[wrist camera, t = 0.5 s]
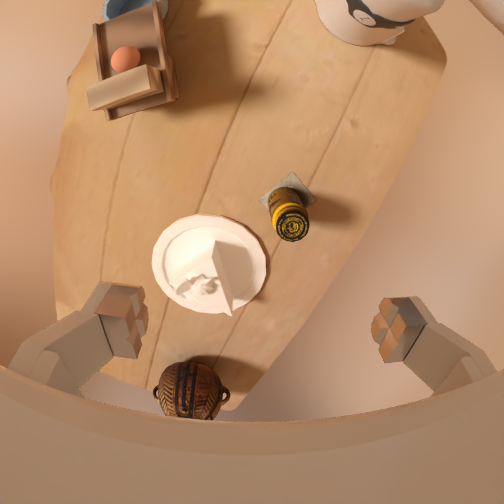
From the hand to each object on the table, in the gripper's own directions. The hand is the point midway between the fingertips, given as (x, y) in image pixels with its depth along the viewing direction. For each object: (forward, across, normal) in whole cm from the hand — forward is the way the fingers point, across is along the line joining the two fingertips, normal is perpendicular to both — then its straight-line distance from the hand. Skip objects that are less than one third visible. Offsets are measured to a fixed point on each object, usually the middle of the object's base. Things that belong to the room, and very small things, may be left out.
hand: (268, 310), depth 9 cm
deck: (+43, +19, -15) cm, 49 cm away
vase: (+44, +11, +62) cm, 77 cm away
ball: (+32, +19, -14) cm, 40 cm away
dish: (+44, +6, +26) cm, 52 cm away
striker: (+34, +18, -10) cm, 39 cm away
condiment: (+43, -9, +10) cm, 45 cm away
